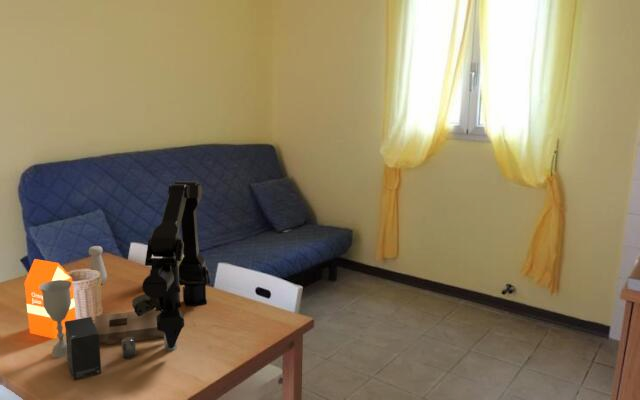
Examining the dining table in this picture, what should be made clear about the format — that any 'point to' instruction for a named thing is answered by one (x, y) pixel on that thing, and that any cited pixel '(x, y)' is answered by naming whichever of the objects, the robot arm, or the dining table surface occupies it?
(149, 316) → the pin board
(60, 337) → the chalice
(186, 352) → the dining table surface
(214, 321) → the dining table surface
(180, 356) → the dining table surface
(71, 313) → the orange juice
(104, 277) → the salt shaker
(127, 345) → the short pin
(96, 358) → the small box
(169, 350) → the long pin
